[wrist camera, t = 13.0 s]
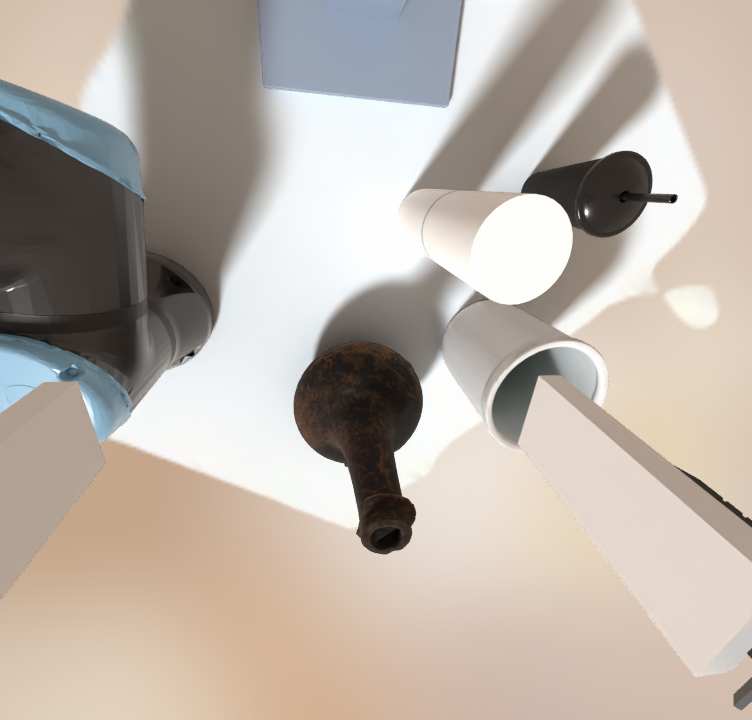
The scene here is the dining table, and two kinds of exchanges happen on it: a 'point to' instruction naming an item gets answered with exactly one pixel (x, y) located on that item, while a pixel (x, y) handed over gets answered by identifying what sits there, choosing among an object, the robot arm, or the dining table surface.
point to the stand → (361, 48)
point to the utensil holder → (514, 364)
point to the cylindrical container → (490, 239)
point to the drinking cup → (600, 192)
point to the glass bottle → (364, 430)
